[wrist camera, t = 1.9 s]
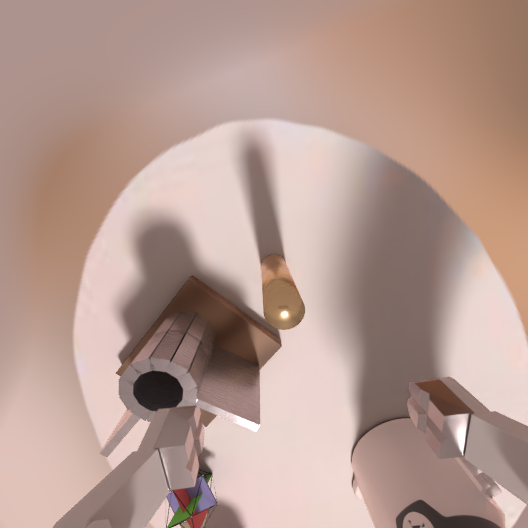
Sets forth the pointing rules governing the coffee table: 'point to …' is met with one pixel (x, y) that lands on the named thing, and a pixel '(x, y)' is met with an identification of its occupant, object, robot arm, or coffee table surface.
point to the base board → (217, 328)
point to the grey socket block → (187, 377)
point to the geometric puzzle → (191, 504)
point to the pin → (280, 294)
